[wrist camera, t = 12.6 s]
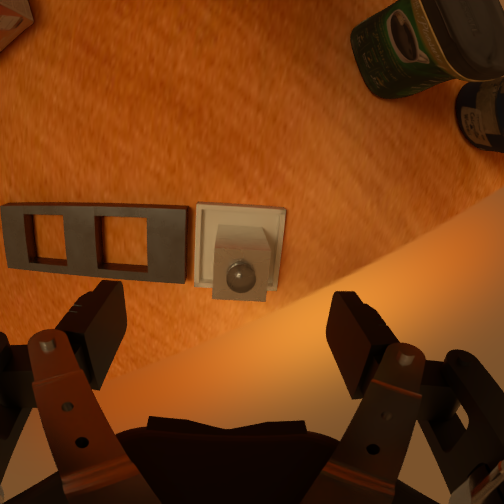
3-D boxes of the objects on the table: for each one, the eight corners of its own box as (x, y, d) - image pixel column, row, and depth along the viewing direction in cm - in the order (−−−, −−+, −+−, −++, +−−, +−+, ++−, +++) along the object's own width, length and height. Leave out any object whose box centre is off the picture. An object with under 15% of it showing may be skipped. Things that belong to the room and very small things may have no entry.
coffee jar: (422, 94, 30) (541, 79, 12) (367, 104, 30) (483, 81, 13) (396, 21, 27) (496, -34, 9) (339, 26, 27) (425, -52, 10)
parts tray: (198, 201, 33) (196, 204, 31) (283, 207, 33) (286, 210, 32) (195, 281, 35) (194, 286, 34) (274, 285, 36) (276, 290, 35)
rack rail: (9, 202, 31) (0, 205, 29) (188, 205, 33) (185, 209, 31) (15, 262, 33) (8, 267, 31) (186, 276, 35) (184, 283, 33)
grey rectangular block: (218, 224, 33) (213, 250, 25) (262, 227, 34) (272, 254, 25) (215, 265, 35) (211, 303, 26) (258, 267, 35) (266, 306, 27)
